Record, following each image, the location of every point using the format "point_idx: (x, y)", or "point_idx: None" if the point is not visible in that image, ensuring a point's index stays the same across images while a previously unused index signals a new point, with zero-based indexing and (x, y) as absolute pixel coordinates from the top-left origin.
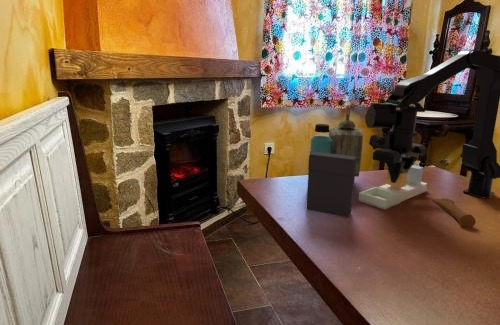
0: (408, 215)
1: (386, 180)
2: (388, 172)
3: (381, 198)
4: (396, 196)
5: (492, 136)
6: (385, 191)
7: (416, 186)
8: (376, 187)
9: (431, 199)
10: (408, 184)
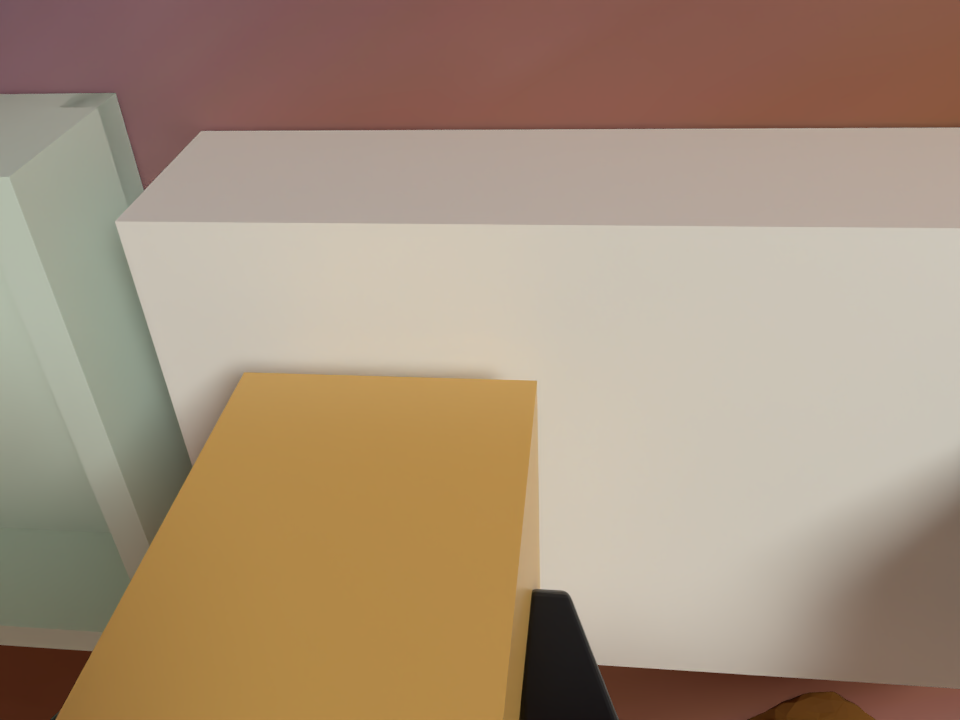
0: (23, 699)
1: (212, 437)
2: (98, 695)
3: (25, 343)
4: (38, 644)
5: None
6: (79, 421)
7: (913, 659)
8: (2, 216)
9: (783, 713)
10: (947, 534)
